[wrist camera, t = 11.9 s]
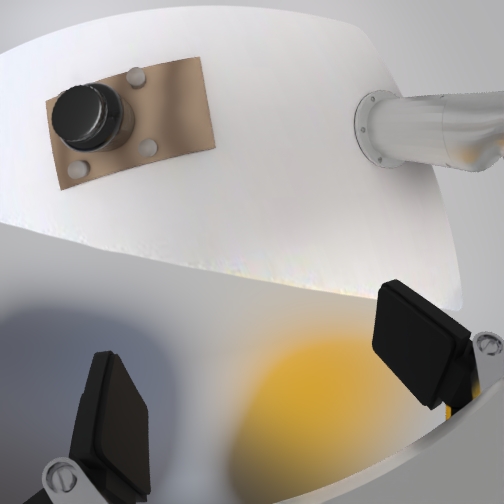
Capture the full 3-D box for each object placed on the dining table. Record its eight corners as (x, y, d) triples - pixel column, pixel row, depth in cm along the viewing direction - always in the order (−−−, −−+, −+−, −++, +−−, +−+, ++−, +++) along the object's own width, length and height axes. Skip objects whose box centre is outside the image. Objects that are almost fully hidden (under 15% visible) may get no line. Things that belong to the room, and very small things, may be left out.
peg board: (198, 60, 29) (202, 48, 25) (213, 148, 34) (219, 147, 30) (50, 102, 26) (35, 97, 22) (65, 189, 30) (51, 194, 26)
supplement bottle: (102, 88, 26) (70, 60, 15) (146, 112, 29) (133, 91, 18) (72, 137, 27) (28, 133, 16) (116, 162, 30) (87, 167, 19)
